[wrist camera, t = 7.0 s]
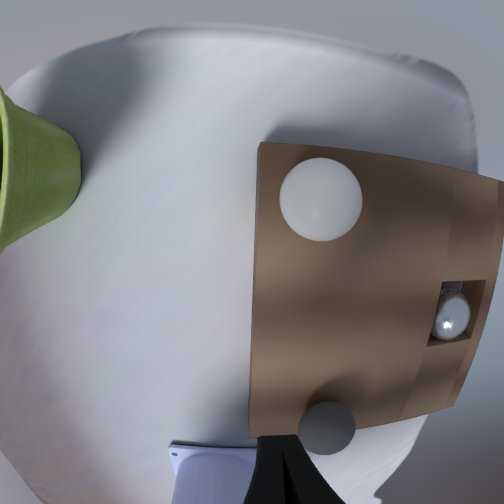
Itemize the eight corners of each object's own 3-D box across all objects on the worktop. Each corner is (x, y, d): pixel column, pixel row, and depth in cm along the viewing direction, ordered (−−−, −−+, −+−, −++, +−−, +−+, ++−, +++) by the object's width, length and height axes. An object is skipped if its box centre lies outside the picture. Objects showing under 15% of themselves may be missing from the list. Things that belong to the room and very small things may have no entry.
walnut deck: (439, 390, 20) (453, 406, 18) (248, 414, 20) (249, 438, 17) (485, 181, 16) (507, 183, 14) (257, 148, 16) (260, 142, 13)
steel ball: (462, 352, 15) (416, 345, 17) (470, 326, 17) (429, 321, 19) (469, 303, 14) (418, 298, 16) (475, 282, 16) (431, 279, 19)
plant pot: (60, 274, 17) (-26, 328, 8) (-12, 192, 15) (-96, 205, 7) (135, 155, 15) (47, 136, 7) (48, 82, 14) (-36, 46, 5)
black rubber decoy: (340, 425, 17) (354, 460, 14) (291, 430, 17) (298, 468, 14) (351, 387, 17) (369, 424, 13) (297, 392, 16) (307, 432, 13)
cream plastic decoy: (343, 235, 14) (372, 250, 11) (273, 232, 14) (284, 248, 11) (347, 164, 14) (378, 159, 10) (276, 158, 13) (288, 150, 10)
